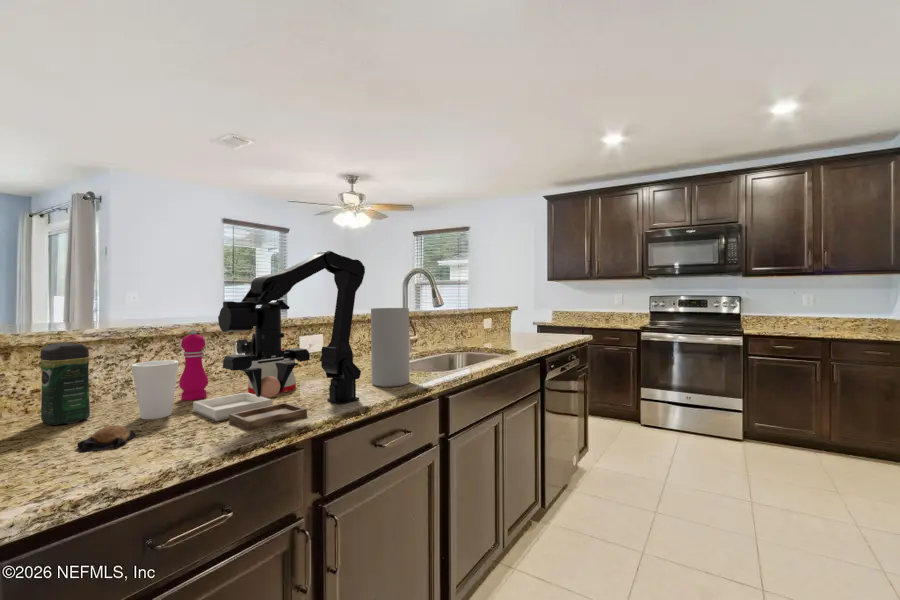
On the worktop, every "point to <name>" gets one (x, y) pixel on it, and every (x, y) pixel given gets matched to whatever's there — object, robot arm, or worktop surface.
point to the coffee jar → (65, 383)
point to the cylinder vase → (390, 346)
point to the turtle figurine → (106, 439)
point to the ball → (269, 386)
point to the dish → (229, 405)
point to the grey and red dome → (271, 370)
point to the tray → (267, 415)
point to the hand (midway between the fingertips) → (269, 394)
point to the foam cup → (155, 387)
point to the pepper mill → (193, 368)
